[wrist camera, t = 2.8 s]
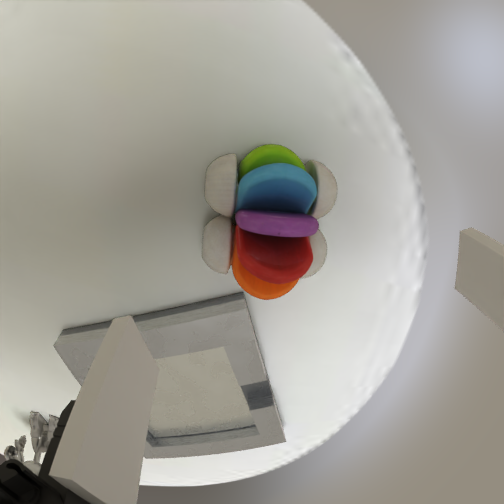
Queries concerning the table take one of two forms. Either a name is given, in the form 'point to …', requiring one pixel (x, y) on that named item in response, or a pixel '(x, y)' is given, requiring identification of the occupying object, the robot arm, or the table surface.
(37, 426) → the robot toy
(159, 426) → the plate
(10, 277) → the table surface
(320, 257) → the colorful rounded-lobe toy
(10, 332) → the table surface
